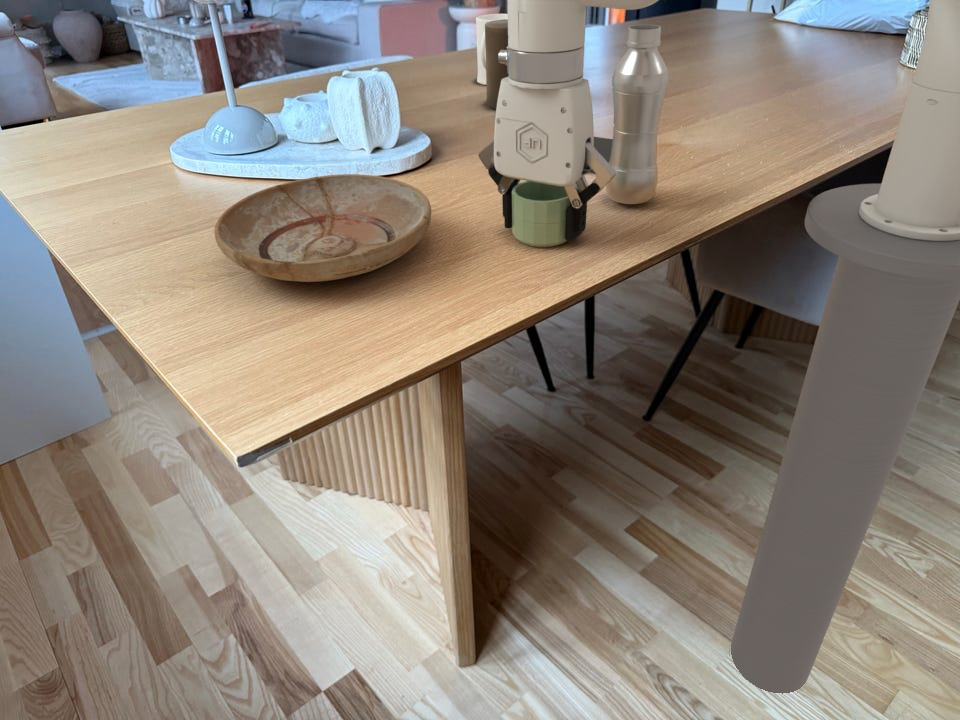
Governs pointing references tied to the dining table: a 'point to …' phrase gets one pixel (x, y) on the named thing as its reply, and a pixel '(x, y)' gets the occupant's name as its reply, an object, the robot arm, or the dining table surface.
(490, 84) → the pillar candle
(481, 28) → the mug
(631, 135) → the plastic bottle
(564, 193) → the green cup
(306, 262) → the ceramic bowl
